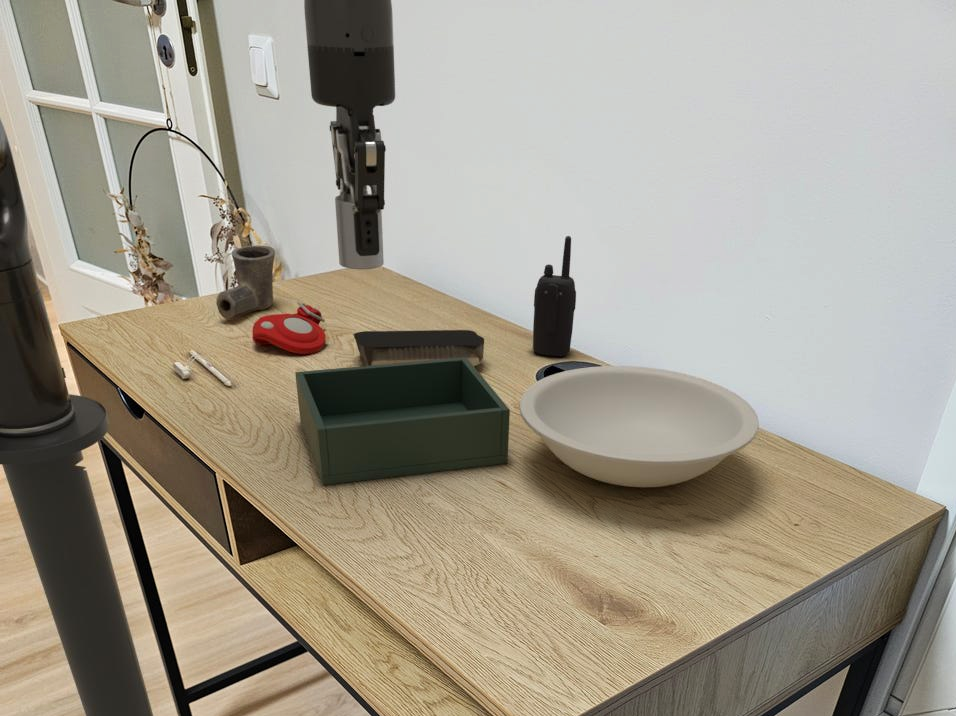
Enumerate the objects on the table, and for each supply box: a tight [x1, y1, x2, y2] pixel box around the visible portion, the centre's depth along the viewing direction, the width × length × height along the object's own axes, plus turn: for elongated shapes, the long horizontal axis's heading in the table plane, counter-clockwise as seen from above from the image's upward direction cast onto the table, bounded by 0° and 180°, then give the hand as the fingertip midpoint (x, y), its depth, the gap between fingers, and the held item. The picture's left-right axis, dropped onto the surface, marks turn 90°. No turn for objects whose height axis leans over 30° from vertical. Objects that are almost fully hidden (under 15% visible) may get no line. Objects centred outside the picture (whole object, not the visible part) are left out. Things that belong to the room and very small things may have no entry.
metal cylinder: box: [334, 193, 385, 270], centre depth 87 cm, size 4×4×6 cm
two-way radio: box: [532, 235, 577, 358], centre depth 116 cm, size 6×4×15 cm
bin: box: [295, 357, 511, 486], centre depth 95 cm, size 20×16×6 cm
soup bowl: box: [518, 365, 760, 488], centre depth 91 cm, size 24×24×7 cm
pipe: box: [215, 244, 276, 320], centre depth 130 cm, size 6×13×8 cm, turn 162°
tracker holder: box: [252, 300, 327, 355], centre depth 121 cm, size 12×4×10 cm
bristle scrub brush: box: [353, 329, 485, 367], centre depth 115 cm, size 16×8×4 cm, turn 98°
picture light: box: [172, 349, 232, 387], centre depth 111 cm, size 14×4×2 cm, turn 34°
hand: (362, 247), depth 87 cm, fingers closed on metal cylinder, 4 cm apart
